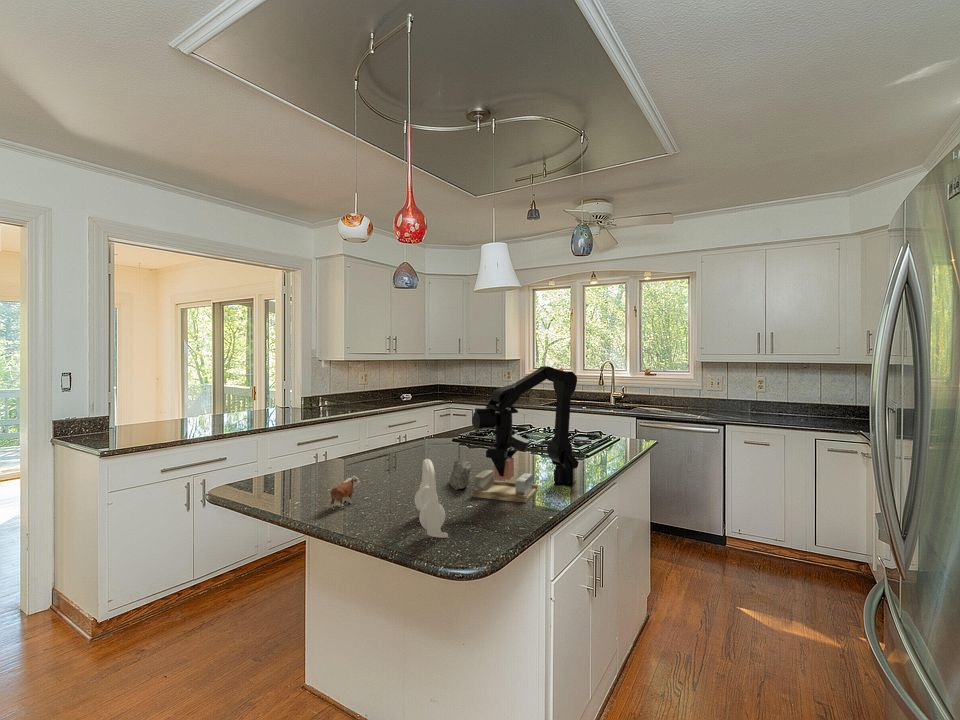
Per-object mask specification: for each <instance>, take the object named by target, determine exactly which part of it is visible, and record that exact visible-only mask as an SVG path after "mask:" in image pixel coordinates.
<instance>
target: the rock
mask: <svg viewBox="0 0 960 720" xmlns="http://www.w3.org/2000/svg"><path fill="white" fill-rule="evenodd" d="M471 470H472V465H471V461H470V460H459V459H457V460H456V461H455V462H454V464H453V466H452V472H451V474H450V479H449V485H450V486H451V487H452V489H454V490H455V491H457V490H462V489H464V488H467V487H468V484H469V478H470V472H471Z"/></svg>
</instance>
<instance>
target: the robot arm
mask: <svg viewBox="0 0 960 720" xmlns="http://www.w3.org/2000/svg"><path fill="white" fill-rule="evenodd" d="M546 380H547V381H550V382H551V383H552V385H553V390H554V392H555V395H556V405H555V419H554V420H555V421H554V436H553V438H552V440H551V441H550V440H548V441H547V450H546V453H547V454H548V455H547V456H548V458H549V459H550V460H551V463H552V465H554V470H553V482H554V483H553V485H554V486H562V485H564V487H574V486H575V484H576V479H575V477H576V476H575V475H576V473H575V469H578V468H579V461H578V460H577V458H576V457H575V456H574V455H573V447H572V444H571V441H570V439H569V438H570V437H569V430H570V417H571V402H572V400H571V399H572V396H573V394H574V392H575V391H576V387H577V383H578V376H577V375H576V373H575V372H573V371H572V370H571V371H570V370H560V369H556V368H555V367H552V366H547V365H542V366H540V367H539V368H538V369H536V370H534V371H532V372H530V373H529V374H528V375H526V376H525V377H524V376H523V378H521V379H519V380H517V381H516V382H515V383H512V384H508V385H505V386H501V387H499V388H497V389H495V390H493V392H492V394H491V395H492V396H491V399H490V400H489V402H488V403H487V405H486V407H485V408H480V407H479V408H478V407H476V408H474V413H473V415H472V418H471V423H472V427H473V429H474V430H475V431H476V430H477V431H478V430H480V431H481V430H488V429H493V428H494V430H493V431H492V434H493V435H494V440H495V441H494V442H493V443H492V444H493V446H491V447H488V448H487V450H486V451H485V458H487V459H488V458H489V459H491V461H492V462H493V464H494V468H495V467H496V469H497V471H498V473H499V475H500V476H504V469H505V461H506V460H507V459H508V458H513V457H514V456H515V454H516V453H517V452H518V450H519V451H521V452H526V451H528V449H529V446H530V445H531V439H530V437H529V434H527V433H523V434H522V435H520V434H519V435H518V434H516V430H515V429H513V414H518V413H519V411H518V409H516V407H515V406H514V405H515V404H516V403H517V402H518V401H519V399H520V398H521V396H522V395H523V394H525V393H526V392H528V391H530V390H532V389H533V388H534V387H536V386H538V385H540V384H541V383H542V382H544V381H546ZM574 483H575V484H574Z"/></svg>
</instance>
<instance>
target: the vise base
mask: <svg viewBox="0 0 960 720" xmlns="http://www.w3.org/2000/svg"><path fill="white" fill-rule="evenodd" d="M494 479H495V470H493V469H485V470H483V471H481V472H480V473H478V474H476V475H475V476H474V489H473V490H472V491H471V495H472V498H480V499H488V500H496V501H497V500H498V501H508V502H517V503H527V502H528V501H529V500H530V499H531V498H532V497H533V495H535V494H536V493H537V492H538V490H539V489H538V486H539V485H538V484H536V483H533V489H532V490H531V491H530V492H529V493H528V494H527V495H519V494H516V487H515V482H513V481H505V480H504V481H502V480H496V479H495V480H494Z"/></svg>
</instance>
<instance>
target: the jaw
mask: <svg viewBox="0 0 960 720" xmlns="http://www.w3.org/2000/svg"><path fill="white" fill-rule="evenodd" d="M533 484H534V473H528V472H527V473H526V472H524V473H523V474H522V475H520V476H519V477H518V478H516V480H515V487H516V494H519V495H527V494H528V493H529V492H530V491H531V490H532V489H533Z"/></svg>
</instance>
